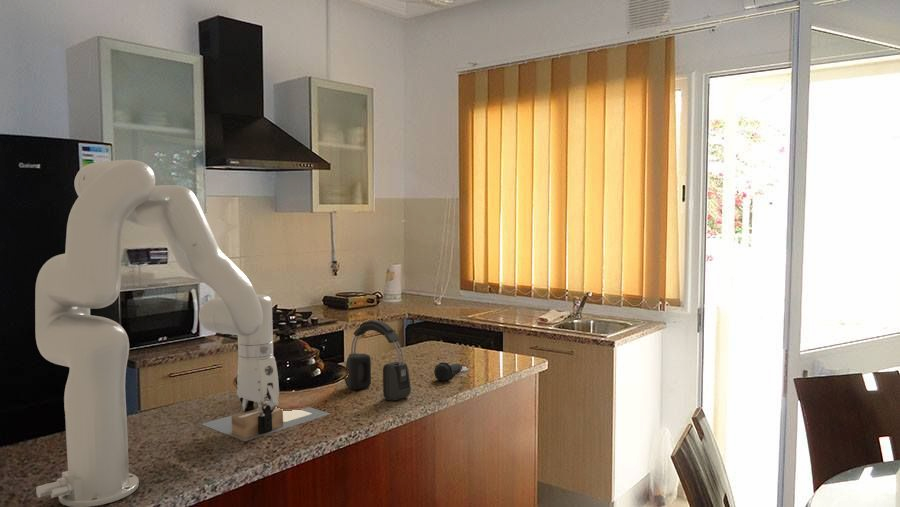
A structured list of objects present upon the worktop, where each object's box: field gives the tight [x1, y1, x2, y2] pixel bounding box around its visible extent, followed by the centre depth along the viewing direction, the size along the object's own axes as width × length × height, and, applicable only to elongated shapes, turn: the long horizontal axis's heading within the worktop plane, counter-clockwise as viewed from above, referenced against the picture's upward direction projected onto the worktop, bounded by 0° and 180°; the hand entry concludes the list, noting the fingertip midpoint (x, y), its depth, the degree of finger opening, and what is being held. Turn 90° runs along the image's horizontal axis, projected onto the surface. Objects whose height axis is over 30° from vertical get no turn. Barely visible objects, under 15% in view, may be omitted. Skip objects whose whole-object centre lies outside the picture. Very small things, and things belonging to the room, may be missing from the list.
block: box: [231, 405, 283, 438], centre depth 146 cm, size 10×5×4 cm, turn 140°
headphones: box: [344, 319, 412, 401], centre depth 177 cm, size 22×6×20 cm, turn 47°
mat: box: [200, 405, 332, 442], centre depth 154 cm, size 24×18×1 cm
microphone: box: [433, 362, 464, 382], centre depth 197 cm, size 6×6×20 cm
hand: (257, 428), depth 147 cm, fingers closed on block, 5 cm apart
